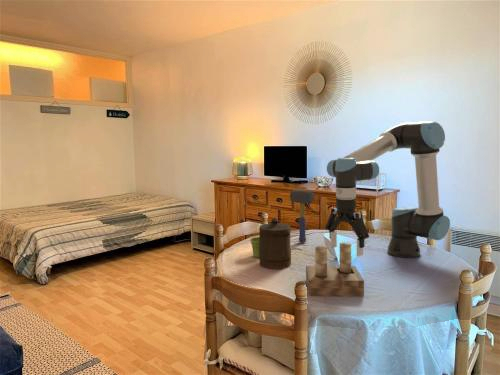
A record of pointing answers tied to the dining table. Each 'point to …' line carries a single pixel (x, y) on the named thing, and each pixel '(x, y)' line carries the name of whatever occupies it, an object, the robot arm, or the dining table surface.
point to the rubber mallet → (302, 208)
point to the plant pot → (255, 246)
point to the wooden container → (275, 245)
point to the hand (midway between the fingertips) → (346, 251)
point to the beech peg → (345, 258)
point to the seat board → (332, 278)
